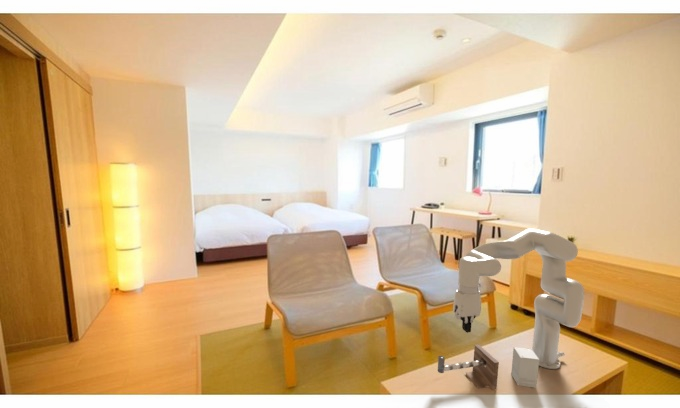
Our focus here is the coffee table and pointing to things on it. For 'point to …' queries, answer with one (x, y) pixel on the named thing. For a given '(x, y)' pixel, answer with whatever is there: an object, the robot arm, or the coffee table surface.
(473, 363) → the shaft
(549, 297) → the robot arm
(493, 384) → the bracket
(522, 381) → the supplement box
